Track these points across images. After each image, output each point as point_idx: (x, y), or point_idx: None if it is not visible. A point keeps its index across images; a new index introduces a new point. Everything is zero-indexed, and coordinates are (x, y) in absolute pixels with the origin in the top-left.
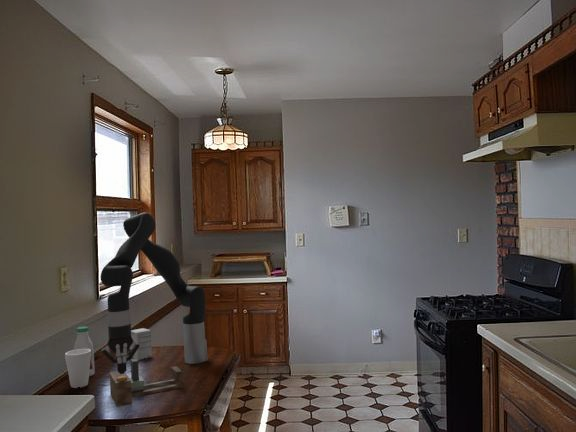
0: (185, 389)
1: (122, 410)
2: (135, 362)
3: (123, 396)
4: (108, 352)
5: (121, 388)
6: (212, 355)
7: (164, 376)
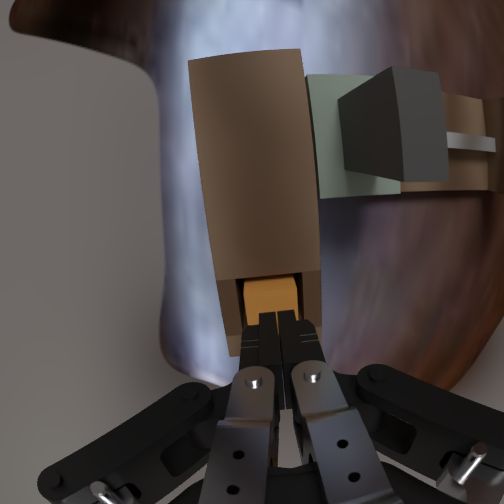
0: (494, 219)
1: None
2: (422, 179)
3: None
4: (135, 501)
5: None
6: None
7: (447, 5)
